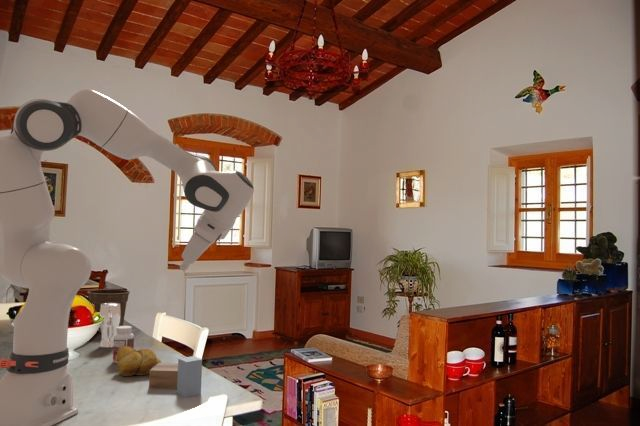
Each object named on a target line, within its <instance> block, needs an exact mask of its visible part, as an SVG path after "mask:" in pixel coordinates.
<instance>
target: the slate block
mask: <svg viewBox="0 0 640 426" xmlns="http://www.w3.org/2000/svg"><path fill="white" fill-rule="evenodd" d="M177 359H178V361H177V363H178V381H177V389H176V393H177V394H178V395H180V396H181V397H183V398H189V397H193V396H199V395H201V394H202V377H203V376H202V374H203V373H202V371H203V359H202V358H199V357H198V356H194V355H191V356H187V357H180V358H177Z"/></svg>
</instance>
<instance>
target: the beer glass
mask: <svg viewBox="0 0 640 426" xmlns="http://www.w3.org/2000/svg"><path fill="white" fill-rule="evenodd" d="M100 316H101V317H103V318H104V321H103V322H102V323H101V325H100V328H101V333H100V335H101V336H100V337H101V338H100V342H99V348H103V349H104V348H105V349H108V348H110V349H112V348H113V341H114V335H115V334H117V332H116V328H117V327H119V323H120V303H103V304H101V308H100Z"/></svg>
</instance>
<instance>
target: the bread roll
mask: <svg viewBox="0 0 640 426" xmlns="http://www.w3.org/2000/svg"><path fill="white" fill-rule="evenodd" d="M117 360H118V361H119V362H118V364H117V371H118V373H119V374H120V375H121V376H122V377H123V376H124V377H132V376H134V375H136V376H146V375H148V374H149V373H150V370H151V369H152V368H153V367H154V366H156V365H157V364H158V363H163V362H162V360H161V359H159V357H157V354H156V353H155V352H154V351H153V350H151V349H147V348H141V349H138V350H136V349H135V348H134V349H133V348H131V347H129V346H125V345H124V346H121V347H120V348H119V350H118V352H117Z"/></svg>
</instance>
